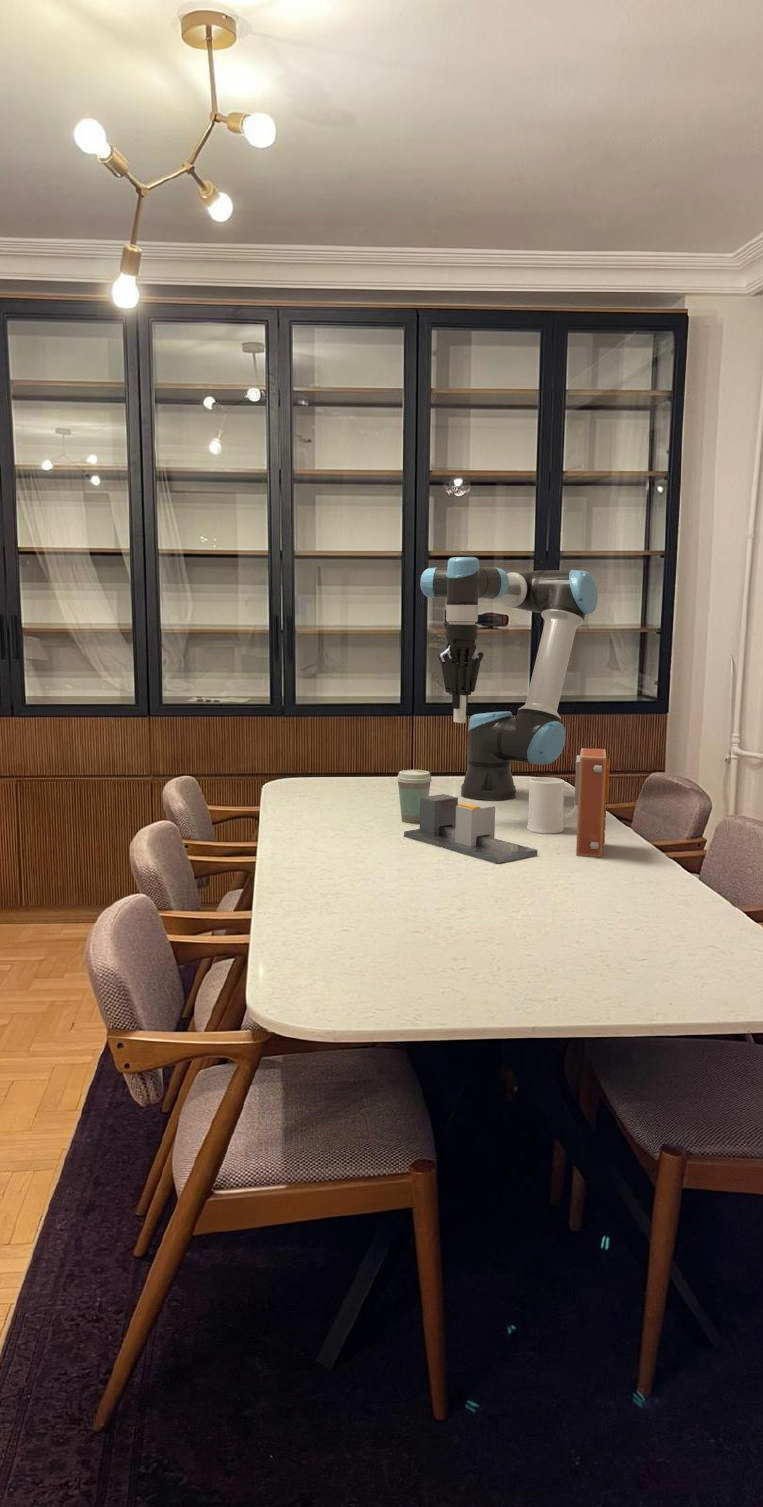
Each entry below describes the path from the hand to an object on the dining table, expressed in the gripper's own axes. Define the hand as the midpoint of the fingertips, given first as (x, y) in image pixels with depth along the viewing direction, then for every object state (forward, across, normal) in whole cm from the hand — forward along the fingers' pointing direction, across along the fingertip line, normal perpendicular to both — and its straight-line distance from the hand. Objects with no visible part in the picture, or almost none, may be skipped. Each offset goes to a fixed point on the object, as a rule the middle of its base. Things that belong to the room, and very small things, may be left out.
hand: (459, 722), depth 250 cm
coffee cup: (+25, +8, -7) cm, 27 cm away
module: (+23, +15, +22) cm, 35 cm away
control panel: (+25, -4, +38) cm, 45 cm away
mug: (+25, -12, +20) cm, 34 cm away
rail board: (+24, +15, +20) cm, 35 cm away
